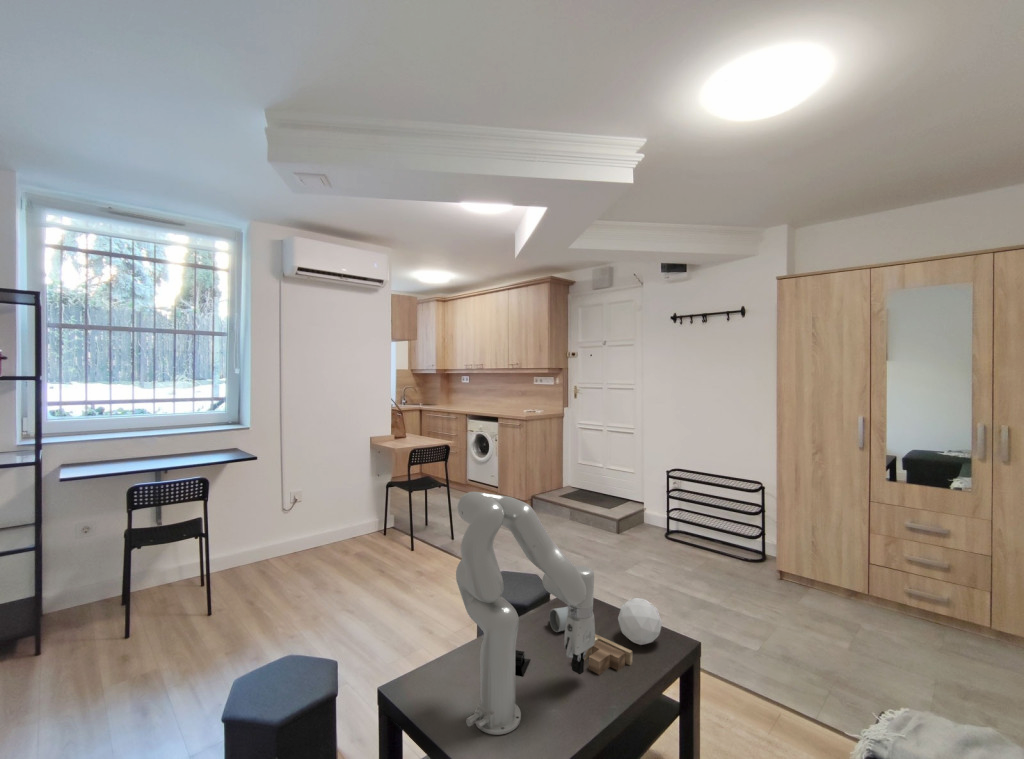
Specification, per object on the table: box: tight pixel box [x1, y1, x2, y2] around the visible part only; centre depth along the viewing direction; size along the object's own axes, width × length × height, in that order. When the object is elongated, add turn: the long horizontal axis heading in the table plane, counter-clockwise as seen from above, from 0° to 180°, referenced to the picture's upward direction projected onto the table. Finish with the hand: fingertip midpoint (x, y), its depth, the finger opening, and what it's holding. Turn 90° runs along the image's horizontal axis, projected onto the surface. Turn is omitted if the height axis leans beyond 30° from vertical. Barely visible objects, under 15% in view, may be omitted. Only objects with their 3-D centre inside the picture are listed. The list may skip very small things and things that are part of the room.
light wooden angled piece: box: [583, 633, 633, 666], centre depth 152 cm, size 14×16×4 cm
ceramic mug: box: [548, 606, 568, 633], centre depth 174 cm, size 11×8×8 cm
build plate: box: [515, 649, 531, 678], centre depth 149 cm, size 12×7×5 cm, turn 164°
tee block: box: [588, 641, 626, 676], centre depth 150 cm, size 10×10×4 cm
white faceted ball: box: [617, 597, 663, 646], centre depth 164 cm, size 14×15×15 cm
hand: (577, 671), depth 141 cm, fingers closed
